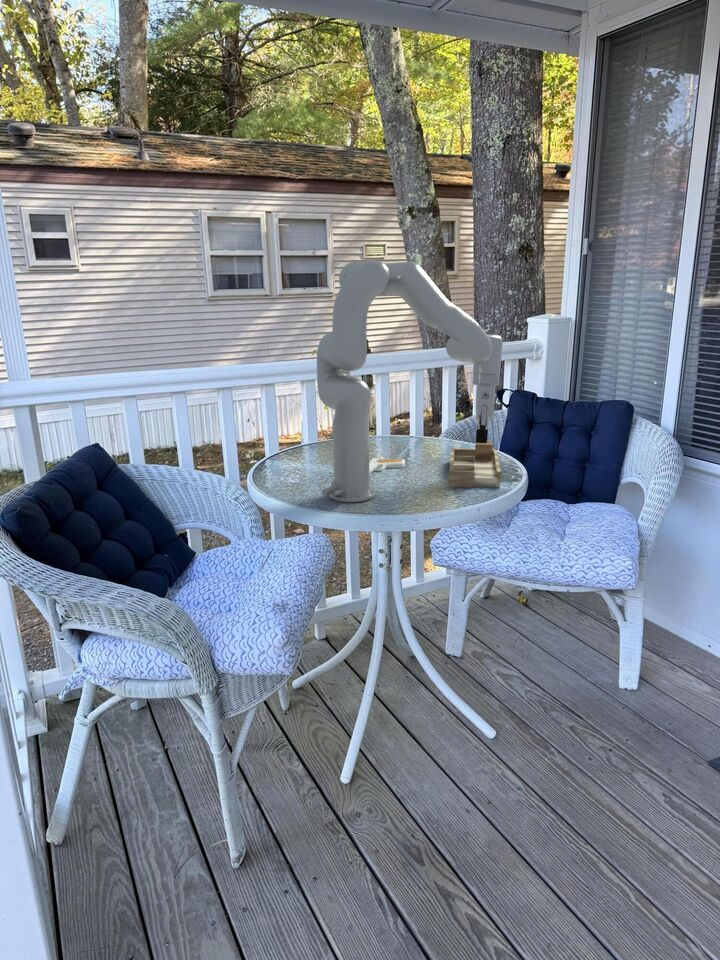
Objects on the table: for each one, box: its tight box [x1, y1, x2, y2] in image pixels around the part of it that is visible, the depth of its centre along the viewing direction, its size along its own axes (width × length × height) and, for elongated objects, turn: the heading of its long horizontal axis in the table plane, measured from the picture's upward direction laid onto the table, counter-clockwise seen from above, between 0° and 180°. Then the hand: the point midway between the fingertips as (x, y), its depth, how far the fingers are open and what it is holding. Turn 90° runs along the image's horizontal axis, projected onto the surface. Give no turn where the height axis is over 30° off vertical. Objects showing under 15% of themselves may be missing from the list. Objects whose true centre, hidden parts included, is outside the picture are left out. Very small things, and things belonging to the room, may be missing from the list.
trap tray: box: [448, 448, 502, 488], centre depth 187 cm, size 26×14×4 cm, turn 171°
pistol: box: [369, 456, 406, 475], centre depth 192 cm, size 2×20×11 cm
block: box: [474, 440, 494, 461], centre depth 194 cm, size 5×5×5 cm
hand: (481, 442), depth 185 cm, fingers closed
